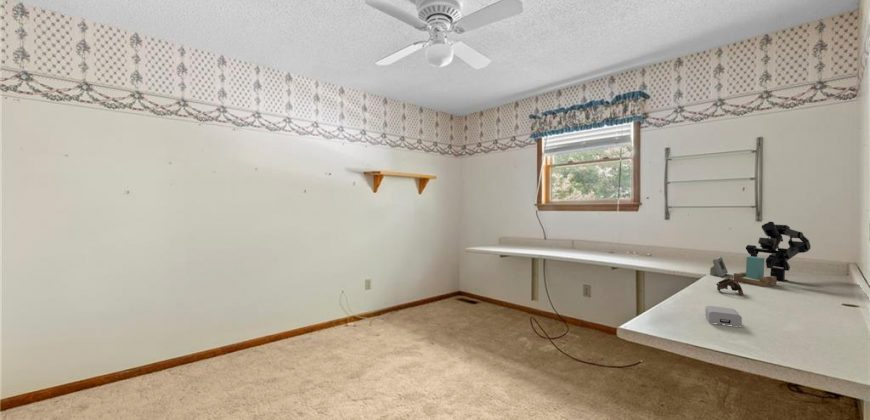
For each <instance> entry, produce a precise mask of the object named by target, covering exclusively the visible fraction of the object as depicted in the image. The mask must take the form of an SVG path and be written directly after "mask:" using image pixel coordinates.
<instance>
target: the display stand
mask: <svg viewBox="0 0 870 420" xmlns="http://www.w3.org/2000/svg"><path fill="white" fill-rule="evenodd" d="M733 280H736V281H737V282H738V283H739V284H740V283H741V284H747V285H751V286H752V285H753V286H758V287H762V288H763V287H764V288H765V287H772V286H776V285H777V277H776V276H770V275H769V276H764V277H760V279H759V280H757V279H752V278H746V271H741V272H735V273H733Z"/></svg>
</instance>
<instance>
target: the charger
mask: <svg viewBox="0 0 870 420" xmlns="http://www.w3.org/2000/svg"><path fill="white" fill-rule="evenodd" d="M704 312H705V314H704V315H705V317H706V319H707V321H708V323H709V324H711V323H717V324H725V325H732V326H741V327H742V325H743V321H742V319H743V316H741V314H740V313H739V312H738V311H737V310H736V309H734V308H731V307H725V306H724V307H722V306H715V305H706V306H705V311H704Z"/></svg>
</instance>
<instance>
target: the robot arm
mask: <svg viewBox="0 0 870 420" xmlns="http://www.w3.org/2000/svg"><path fill="white" fill-rule="evenodd" d="M761 229H762V231H763V233H764V235H765V236H766V237H759V239H758V242H757V243H758V244H759V247H757V245H754V244H753V245H752V244H747V245H746V246H745V250H746V251H747V253H748V254H749V255H750V257H752V256H753V257H758V255H759V253H765V254H768V256H767V257H766V259H765V264H766V269H770V272H769V273H770V275H769V276H776V277H777V281H781V282H782V281H786V282H787V281H789V280H788V279H786V271H787V272H788V271H790V268H791V265H790V264H789V262H788V261H789V260H790V259H792V258H794V257H795V256H796V255H798V254H801V253H803V254H805V253H807V252H809V251H810V249H811V247H812V245H811V244H810V240H809V239H808V238H807V237H806V236H805V235H804V233H803V232H801V231H797V230H795V229H792V228H791V227H790V226H789V225H788V224H775V221H768V222H765V223H764V224H762V225H761ZM783 236H786V237H789V239H788V241H787V243H788V246H789V247H787V248H783V247H782V248H781V247H780V244H781V242H784V239H783ZM793 239H799V240H800V241H798V240H793ZM777 281H776V282H777Z"/></svg>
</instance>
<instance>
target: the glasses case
mask: <svg viewBox="0 0 870 420" xmlns="http://www.w3.org/2000/svg"><path fill="white" fill-rule="evenodd" d="M745 266H746V269H745V272H746V278H752V279H757V280H759V279H760V277H765V276H764V275H765V274H764V272H765V257H761V256H760V257H759V256H757V257H753V256H752V257H751V256H746V265H745Z"/></svg>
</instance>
